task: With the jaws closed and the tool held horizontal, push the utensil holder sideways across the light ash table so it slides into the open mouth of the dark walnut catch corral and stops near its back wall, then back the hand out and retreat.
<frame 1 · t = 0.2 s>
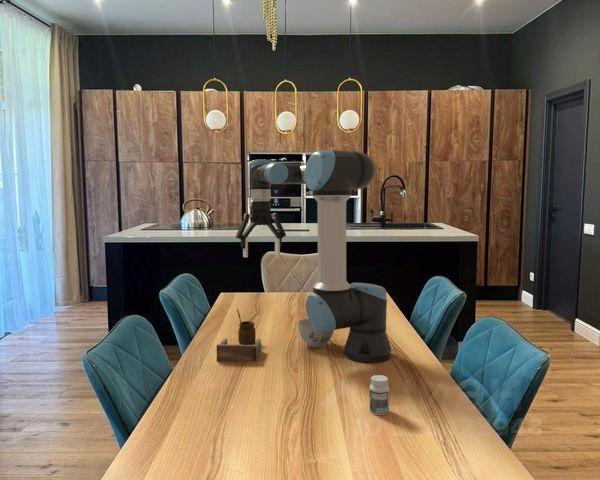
hand: (261, 256, 196), 27 cm above the table, tool pointing down, fingers open, 13 cm apart
teacup: (316, 344, 176), on the table
pill bottle: (379, 412, 123), on the table
utensil holder: (246, 343, 177), on the table
walnut corral: (239, 355, 164), on the table
skincare box: (345, 319, 208), on the table
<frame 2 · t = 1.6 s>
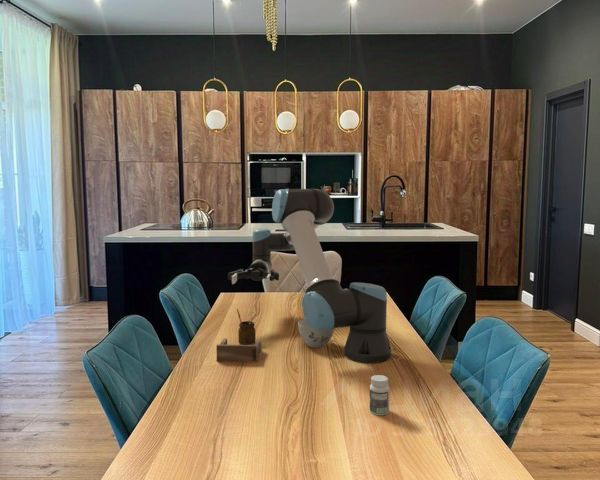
hand: (250, 280, 184), 20 cm above the table, tool horizontal, fingers open, 12 cm apart
nothing on the table moved.
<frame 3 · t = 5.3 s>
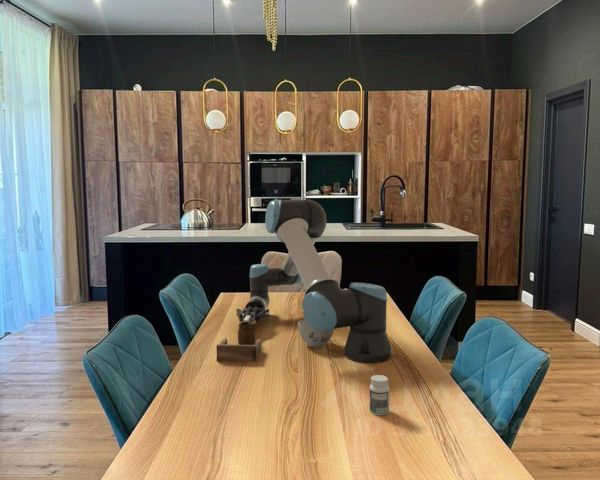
hand: (245, 323, 179), 6 cm above the table, tool horizontal, fingers closed
utensil holder: (246, 343, 177), on the table, touching gripper
everything else where it was.
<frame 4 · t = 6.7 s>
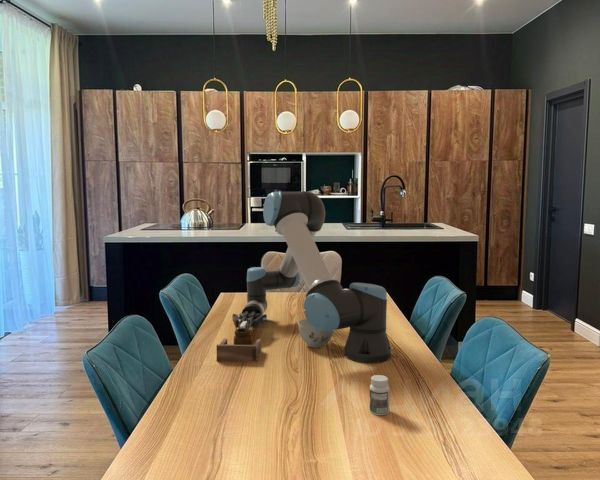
hand: (241, 330, 171), 6 cm above the table, tool horizontal, fingers closed
utensil holder: (242, 351, 169), on the table, touching gripper
everything else where it was.
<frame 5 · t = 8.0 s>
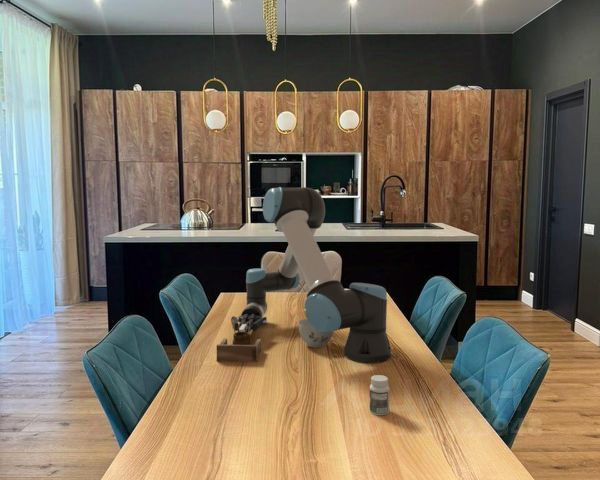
hand: (241, 333, 167), 6 cm above the table, tool horizontal, fingers closed
utensil holder: (241, 355, 164), on the table, touching gripper
everything else where it was.
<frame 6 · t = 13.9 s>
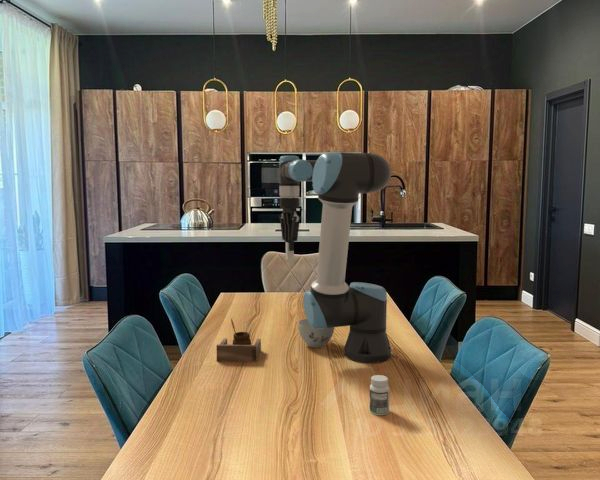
hand: (289, 259, 195), 26 cm above the table, tool pointing down, fingers closed
utensil holder: (241, 355, 164), on the table
everything else where it was.
at the end: utensil holder 0.5 cm from the walnut corral (horizontally); utensil holder tilted 0°; utensil holder moved 13.0 cm from its start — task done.
